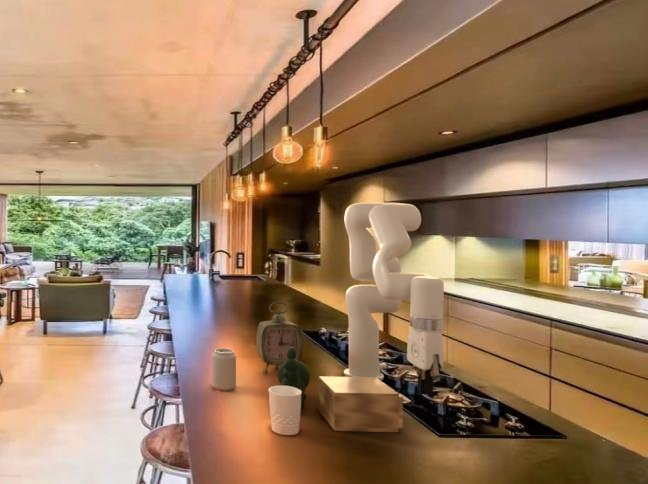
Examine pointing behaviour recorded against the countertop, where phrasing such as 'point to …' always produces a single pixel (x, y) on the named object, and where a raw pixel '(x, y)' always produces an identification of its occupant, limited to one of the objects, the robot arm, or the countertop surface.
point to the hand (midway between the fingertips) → (425, 393)
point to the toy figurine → (294, 374)
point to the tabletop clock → (278, 339)
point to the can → (224, 369)
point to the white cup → (285, 409)
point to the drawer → (403, 401)
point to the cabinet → (358, 404)
